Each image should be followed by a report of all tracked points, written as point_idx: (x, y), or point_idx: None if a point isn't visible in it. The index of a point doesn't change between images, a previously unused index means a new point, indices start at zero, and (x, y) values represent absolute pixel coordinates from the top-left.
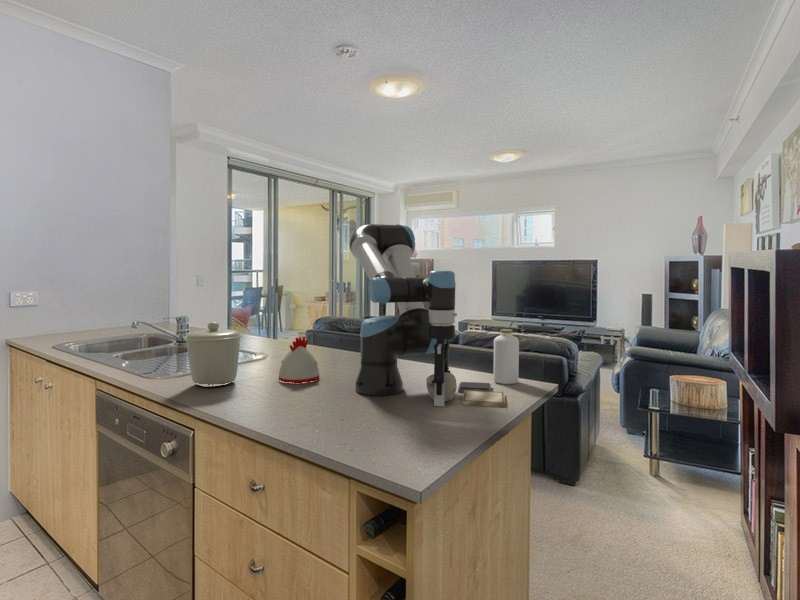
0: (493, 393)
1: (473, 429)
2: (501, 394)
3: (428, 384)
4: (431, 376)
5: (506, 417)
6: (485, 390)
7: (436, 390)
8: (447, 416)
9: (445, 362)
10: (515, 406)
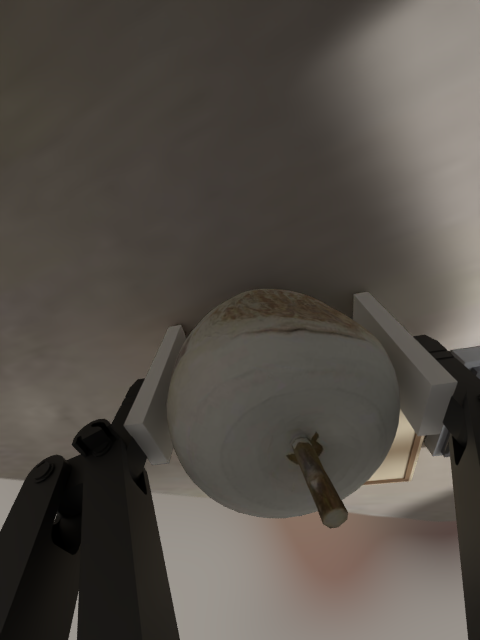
0: (389, 464)
1: (46, 457)
2: (379, 479)
3: (186, 347)
4: (196, 414)
5: (186, 489)
6: (435, 442)
7: (123, 402)
8: (91, 392)
9: (471, 591)
10: None
